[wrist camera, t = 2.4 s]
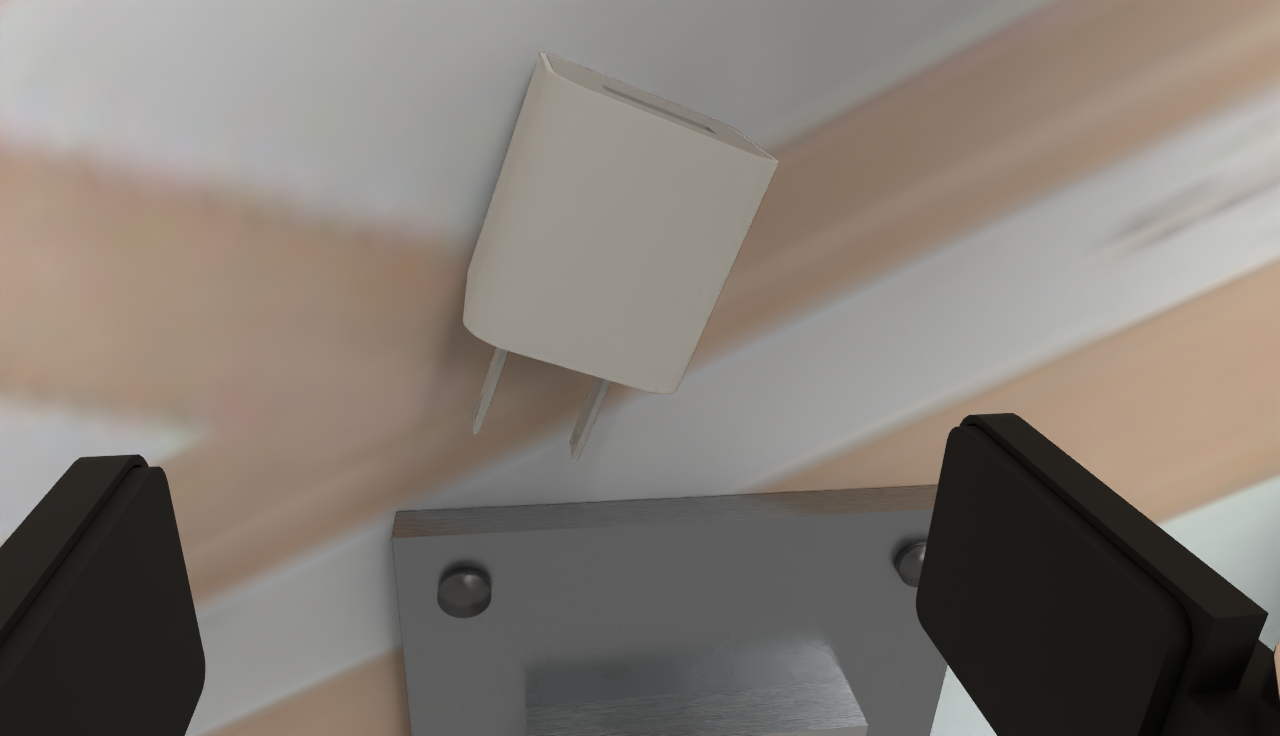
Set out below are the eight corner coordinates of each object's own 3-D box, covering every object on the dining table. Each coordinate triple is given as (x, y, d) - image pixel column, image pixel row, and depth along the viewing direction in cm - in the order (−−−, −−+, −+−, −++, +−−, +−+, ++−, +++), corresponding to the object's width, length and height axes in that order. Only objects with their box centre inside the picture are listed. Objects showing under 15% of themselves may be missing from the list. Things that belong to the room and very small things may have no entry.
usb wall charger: (729, 125, 17) (790, 169, 14) (606, 417, 20) (630, 520, 16) (538, 48, 16) (549, 74, 12) (433, 368, 18) (416, 468, 15)
